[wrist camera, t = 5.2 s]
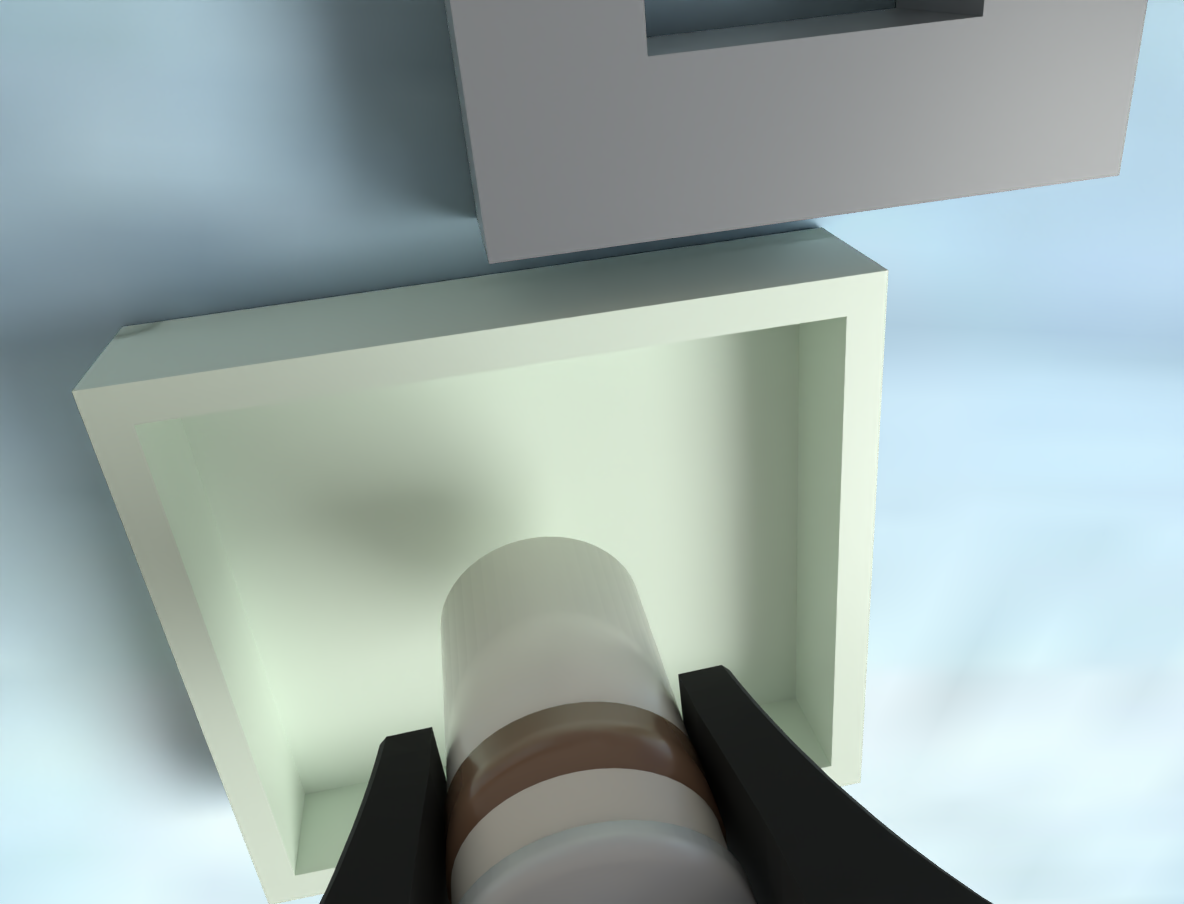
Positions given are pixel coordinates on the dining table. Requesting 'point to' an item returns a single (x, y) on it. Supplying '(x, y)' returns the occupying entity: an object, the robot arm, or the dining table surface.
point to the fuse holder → (776, 113)
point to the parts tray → (497, 496)
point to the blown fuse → (569, 742)
